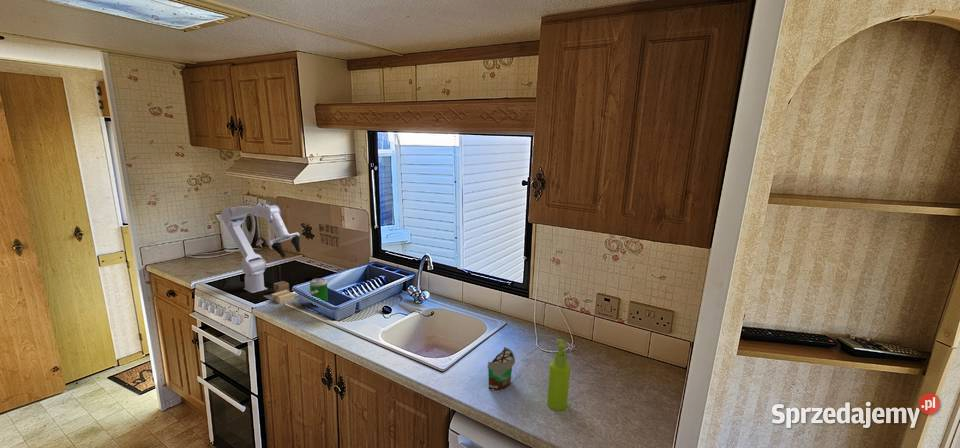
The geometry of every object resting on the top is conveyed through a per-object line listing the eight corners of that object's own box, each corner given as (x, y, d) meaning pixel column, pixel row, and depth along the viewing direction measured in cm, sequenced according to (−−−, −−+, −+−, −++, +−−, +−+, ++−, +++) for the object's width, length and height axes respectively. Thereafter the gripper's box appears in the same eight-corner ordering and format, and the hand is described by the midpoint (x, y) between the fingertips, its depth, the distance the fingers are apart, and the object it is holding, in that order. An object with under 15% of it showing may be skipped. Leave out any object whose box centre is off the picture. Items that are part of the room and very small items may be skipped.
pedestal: (272, 299, 192) (272, 293, 191) (286, 295, 197) (286, 290, 197) (280, 303, 188) (279, 297, 187) (294, 299, 193) (294, 293, 193)
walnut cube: (274, 292, 200) (273, 283, 199) (284, 290, 204) (283, 280, 203) (279, 295, 197) (278, 285, 196) (289, 292, 201) (288, 283, 200)
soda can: (324, 300, 195) (323, 276, 193) (330, 305, 189) (329, 281, 187) (308, 303, 190) (307, 279, 188) (313, 308, 185) (312, 284, 182)
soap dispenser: (563, 396, 126) (568, 337, 122) (569, 410, 119) (574, 349, 116) (544, 396, 126) (549, 337, 122) (549, 410, 119) (554, 348, 115)
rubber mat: (263, 297, 196) (263, 296, 196) (285, 291, 205) (285, 290, 205) (279, 305, 187) (278, 303, 187) (301, 298, 196) (301, 297, 196)
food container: (503, 397, 125) (505, 368, 123) (486, 391, 128) (487, 362, 126) (519, 378, 135) (521, 351, 133) (503, 372, 138) (504, 346, 136)
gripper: (267, 230, 184) (280, 256, 183) (296, 221, 195) (308, 246, 195) (262, 235, 188) (274, 261, 188) (290, 226, 199) (302, 251, 199)
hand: (291, 254), depth 192 cm, fingers open, 7 cm apart
